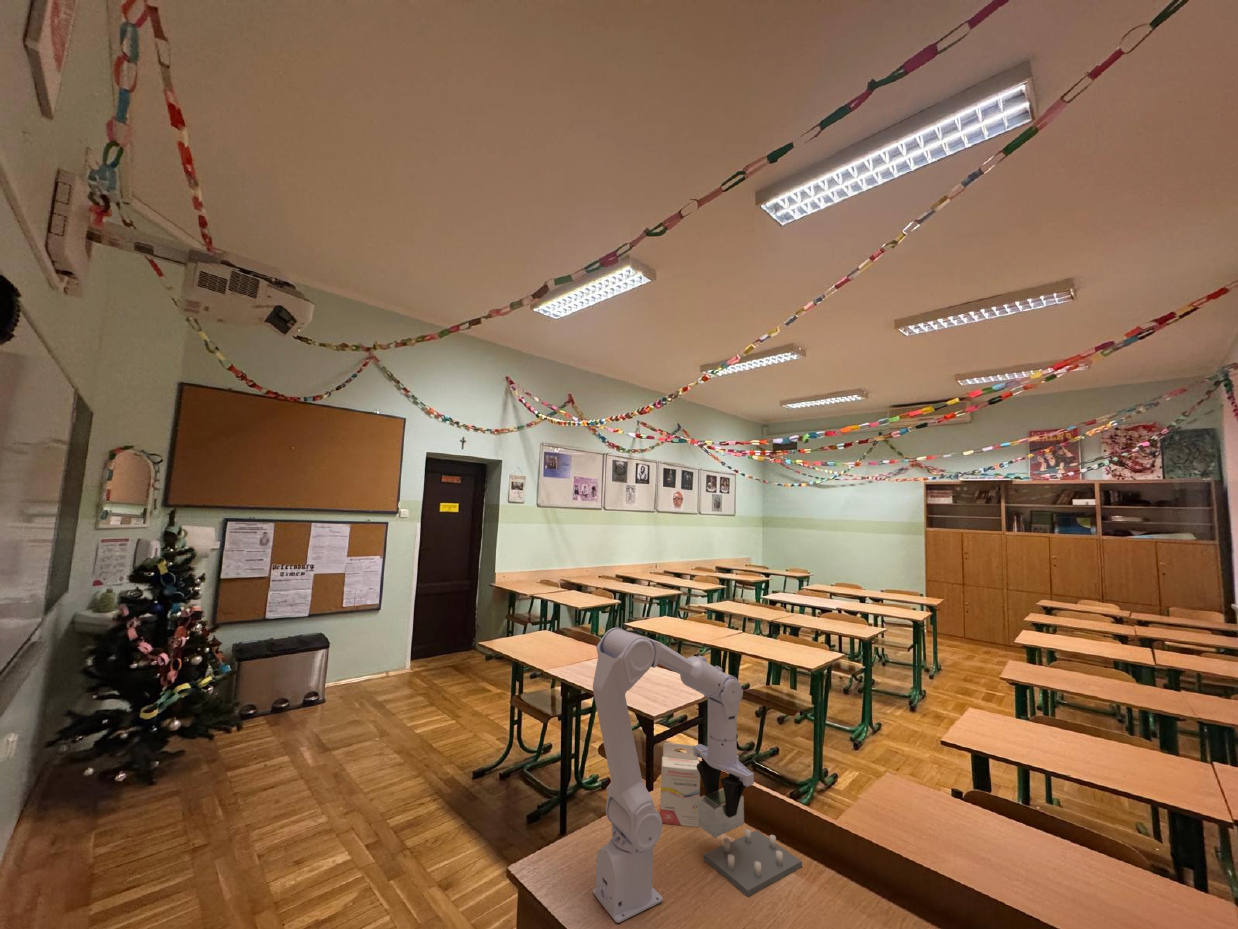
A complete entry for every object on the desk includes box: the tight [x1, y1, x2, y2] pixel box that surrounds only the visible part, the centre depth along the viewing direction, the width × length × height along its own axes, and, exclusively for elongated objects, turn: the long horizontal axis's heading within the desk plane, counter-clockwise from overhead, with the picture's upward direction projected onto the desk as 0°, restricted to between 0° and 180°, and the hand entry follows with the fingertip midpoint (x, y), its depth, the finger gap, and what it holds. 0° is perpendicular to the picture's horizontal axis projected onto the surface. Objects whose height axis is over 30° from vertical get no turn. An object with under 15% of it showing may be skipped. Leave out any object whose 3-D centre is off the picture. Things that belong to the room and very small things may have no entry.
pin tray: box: [703, 828, 803, 898], centre depth 92 cm, size 15×11×3 cm
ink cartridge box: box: [659, 742, 701, 828], centre depth 106 cm, size 9×5×15 cm, turn 84°
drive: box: [698, 787, 745, 839], centre depth 94 cm, size 8×4×5 cm, turn 124°
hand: (722, 809), depth 94 cm, fingers closed on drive, 4 cm apart
